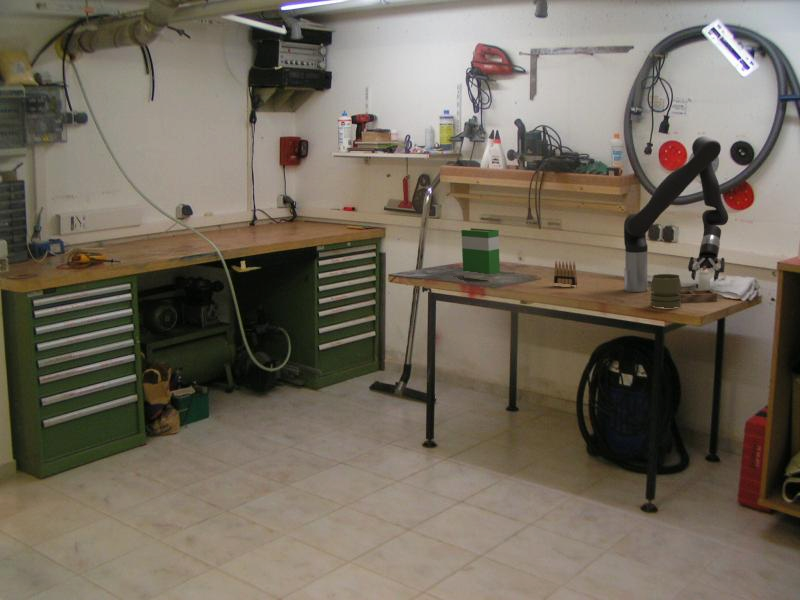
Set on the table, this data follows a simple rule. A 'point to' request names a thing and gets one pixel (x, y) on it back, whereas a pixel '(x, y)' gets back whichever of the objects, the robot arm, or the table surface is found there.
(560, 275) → the ammunition clip
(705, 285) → the glue bottle
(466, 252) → the green box
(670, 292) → the olive green pot
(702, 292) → the wooden compartment tray
